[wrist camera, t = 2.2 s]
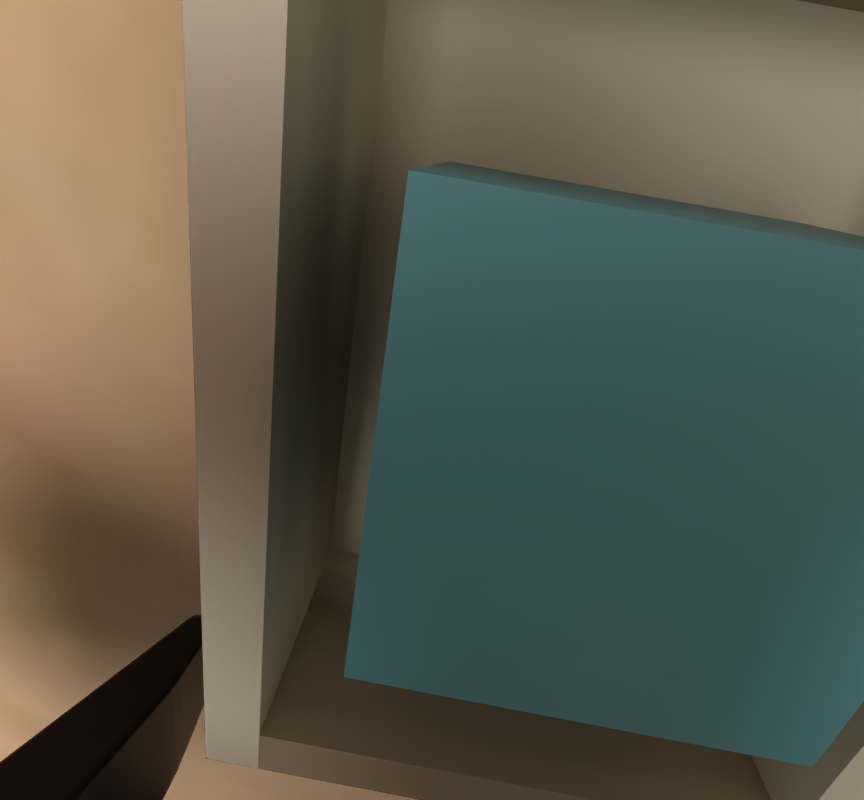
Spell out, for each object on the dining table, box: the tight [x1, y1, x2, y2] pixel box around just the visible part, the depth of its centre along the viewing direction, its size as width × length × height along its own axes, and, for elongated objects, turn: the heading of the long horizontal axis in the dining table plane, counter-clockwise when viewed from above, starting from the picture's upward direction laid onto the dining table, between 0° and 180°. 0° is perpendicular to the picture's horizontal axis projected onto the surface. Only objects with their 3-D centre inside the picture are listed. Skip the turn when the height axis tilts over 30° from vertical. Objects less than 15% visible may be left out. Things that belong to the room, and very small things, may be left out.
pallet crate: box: [182, 0, 864, 800], centre depth 6 cm, size 9×7×4 cm
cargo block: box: [344, 161, 864, 767], centre depth 5 cm, size 4×4×4 cm
